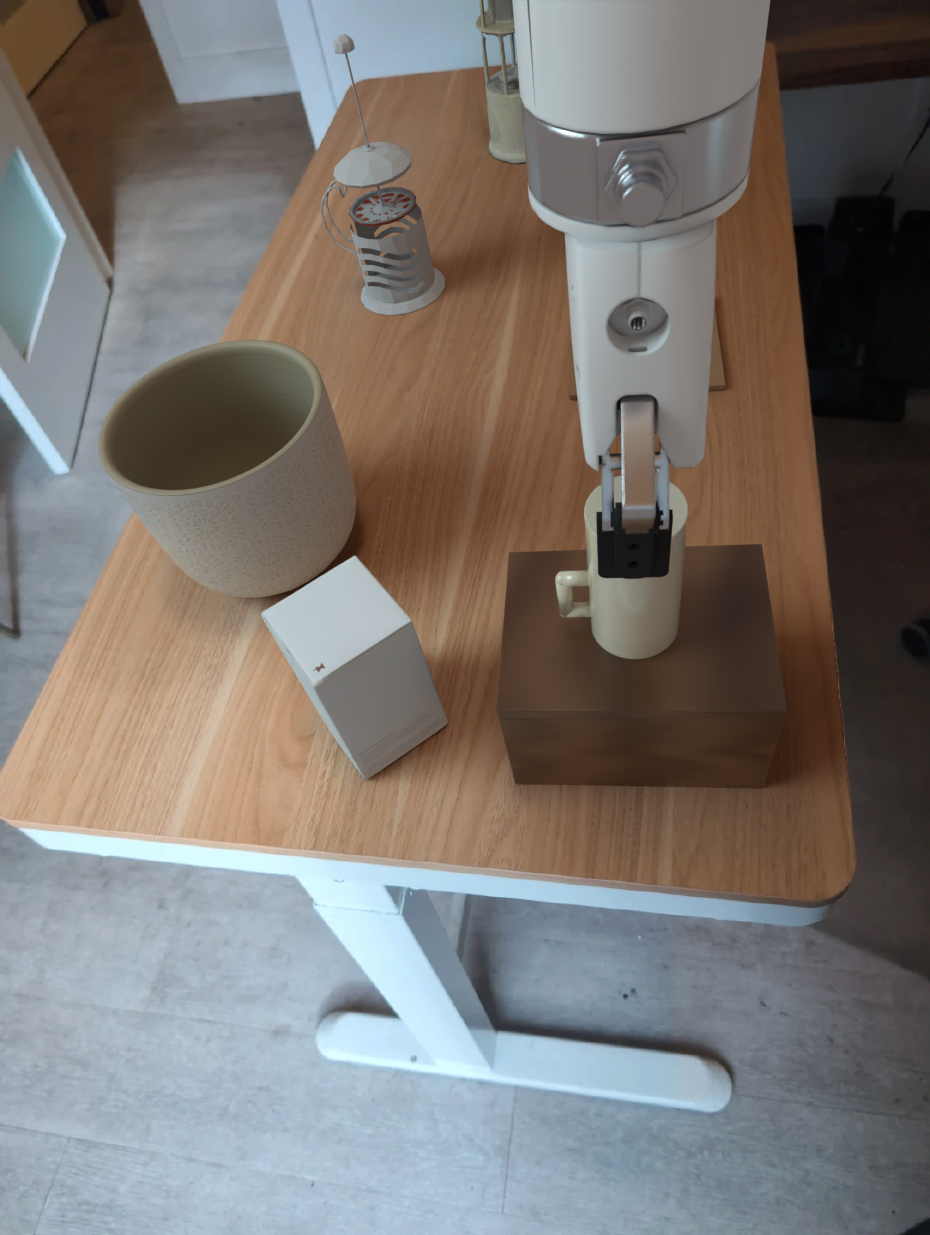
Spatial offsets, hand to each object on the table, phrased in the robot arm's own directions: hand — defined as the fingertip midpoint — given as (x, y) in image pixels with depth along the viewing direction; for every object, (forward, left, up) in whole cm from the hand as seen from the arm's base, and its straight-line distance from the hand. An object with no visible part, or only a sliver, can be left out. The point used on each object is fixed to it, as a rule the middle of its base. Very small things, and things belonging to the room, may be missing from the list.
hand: (630, 497), depth 42 cm
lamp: (+11, -86, -21) cm, 89 cm away
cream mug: (0, 0, -11) cm, 11 cm away
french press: (+25, -54, -21) cm, 63 cm away
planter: (+30, -16, -21) cm, 40 cm away
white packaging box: (+18, +1, -21) cm, 28 cm away
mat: (-2, -40, -21) cm, 45 cm away
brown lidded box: (0, 0, -21) cm, 21 cm away
